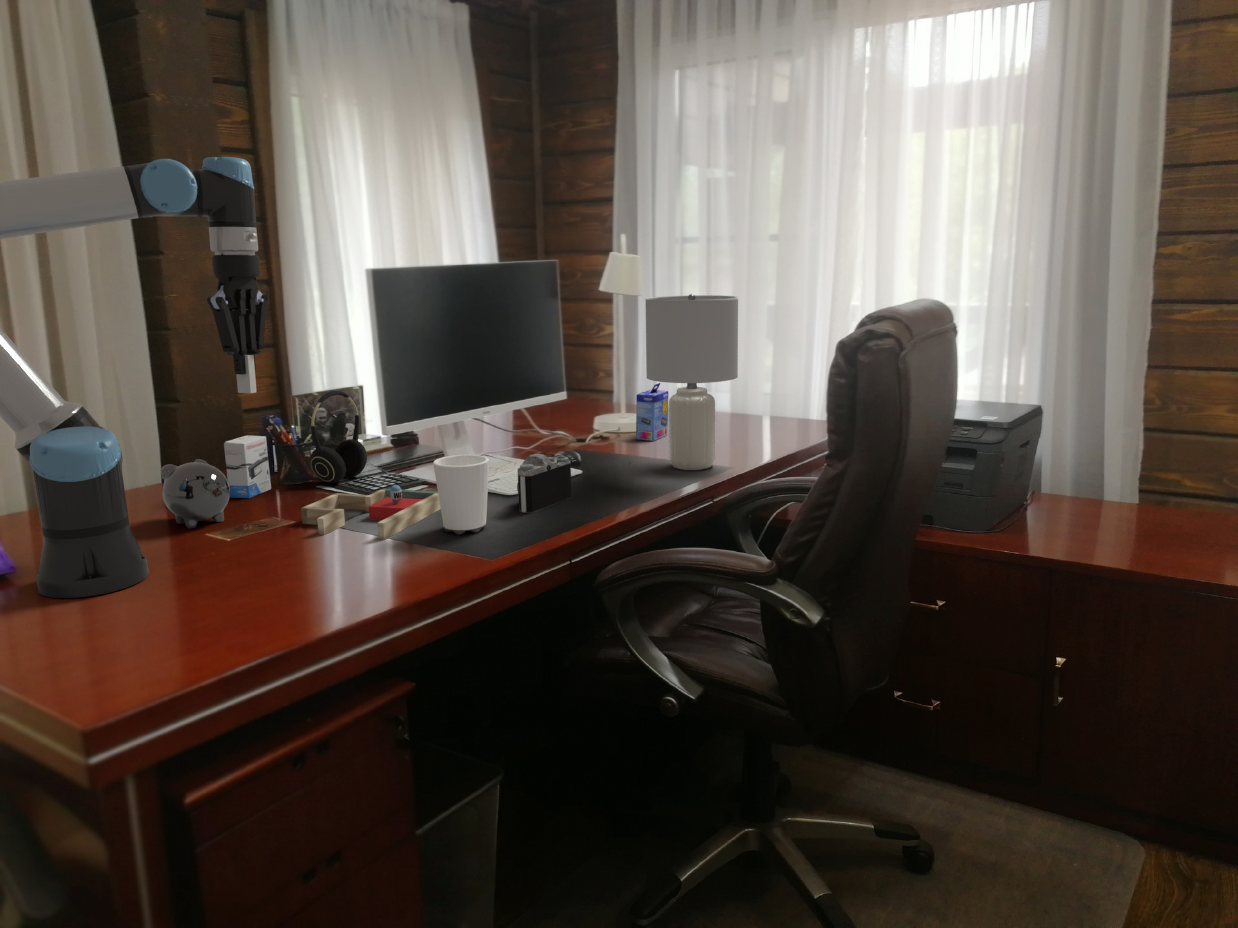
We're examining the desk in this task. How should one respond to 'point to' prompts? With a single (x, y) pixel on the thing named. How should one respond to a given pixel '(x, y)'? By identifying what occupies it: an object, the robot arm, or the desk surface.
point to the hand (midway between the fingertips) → (247, 392)
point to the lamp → (692, 367)
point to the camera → (543, 482)
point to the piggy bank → (195, 492)
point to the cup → (462, 491)
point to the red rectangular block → (390, 505)
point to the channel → (348, 506)
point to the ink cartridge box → (652, 414)
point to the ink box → (247, 466)
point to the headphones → (338, 451)
